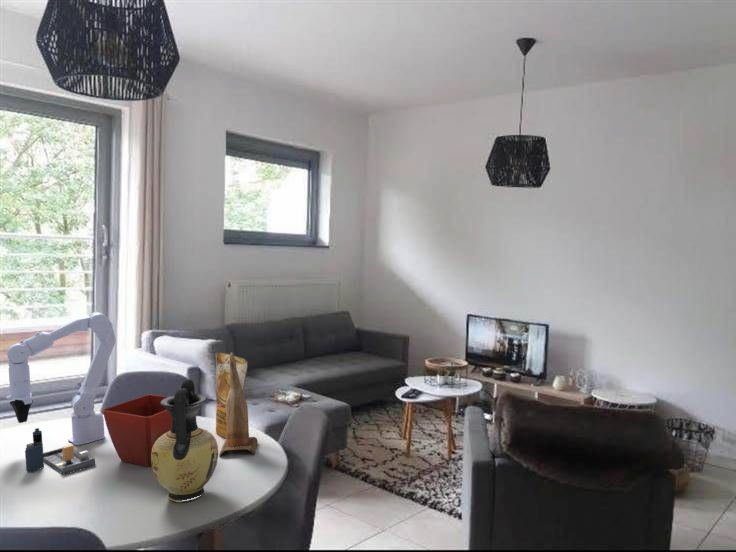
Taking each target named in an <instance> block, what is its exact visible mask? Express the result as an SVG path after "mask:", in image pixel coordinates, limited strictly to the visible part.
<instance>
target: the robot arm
mask: <svg viewBox="0 0 736 552" xmlns="http://www.w3.org/2000/svg"><path fill="white" fill-rule="evenodd" d="M89 328H90V330H91V331H92V332H93V333H94V334H95V335H96V337H97V339H98V340H99V342H98V345H97V348H96V350H95V352H94V355H93V357H92V360H91V362H90V365H89V367H88V370H87V372H86V375H85V377H84V380H83V382H82V385H81V386H80V387H79V389H78V391H77V393H76V394H75V395H73V396H72V399H71V402H70V403H71V407H72V409H73V411H72V413H71V417H70V418H71V430H72V431H71V433H72V438H71V437H70V438H68V439H67V440H68V442H70V443H71V444H74V445H76V446H82V445H85V444H89V443H93V442H96V441H98V440H103V439H105V438H106V437H107V436H106V435H105V418H104V414H103V413H102V412H101V411H95V400H96V397H97V396H96V395H97V389H98V387H99V385H100V382H101V379H102V377H103V374H104V372H105V369H106V367H107V364H108V361H109V360H110V357H111V355H112V352H113V349H114V347H115V345H116V342H117V338H116V335H115V330H114V327H113V323H112V322H111V320H110V319H109V317H107V316H106V315H105V314H104V313H103V312H100V311H94V312H91V313H90V314H86V315H83V316H80V317H78V318H76V319H74V320H72V321H70V322H68V323H66V324H64V325H63V326H61V327H58V328H57V329H55V330H52V331H50V332H46V331H41V332H40V331H37V332H35V333H34V335H33V336H31V337H29V338H26V339H21V340H19V343H14V344H12V345H11V346H10V347H9V348H8V349H7V353H6V355H7V359H8V378H9V379H8V382H9V392H10V393H9V394H10V395H6V396H5V399H6V400H11V401H9V404H10V406H11V407H12V408H13V411H14V413H15V417H16V419H17V422H18V423H19V424H22V423H27V421H28V417H29V414H30V413H29V411H30V409H31V406H32V404H33V397H32V396H33V394H32V389H31V373H30V365H29V357H34V356H35V355H37V354H40V353H41V352H43V351H44V352H45V351H46V350H48V349H50V348H52V347H53V346H54V343H55V342H56V341H58V340H61V339H63V338H65V337H66V336H70V335H72V334H74V333H76V332H79V331H80V332H89V331H90V330H89Z"/></svg>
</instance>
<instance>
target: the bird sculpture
mask: <svg viewBox="0 0 736 552" xmlns="http://www.w3.org/2000/svg"><path fill="white" fill-rule="evenodd" d="M229 354H230V391H229V394H228V397H227V401H226V424H227V439H224V442H223V444H222V446H221V449H220V451H219V453H218V458H219V457H221V456H222V455H223V453H225V452H226V451H232V450H233V451H237V450H248V451H249V452H250V453H251V454H253V455H255V454H256V450H257V446H258V443H259V442H258V438H257V437H255V436H250V433H249V431H250V430H249V411H248V410H249V408H248V403H247V399H246V396H245V393H244V392H243V390H242V387H241V383H240V379H239V375H238V372H237V368H236V362H235V357H234V356H235V354H234V352H230V353H229Z"/></svg>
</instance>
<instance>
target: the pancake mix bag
mask: <svg viewBox="0 0 736 552" xmlns="http://www.w3.org/2000/svg"><path fill="white" fill-rule="evenodd" d="M230 354H231V353H225V352H216V353H214V357H215V400H216V402H215V403H216V405H215V434H216V435H217V436H220V437H221V438H223V439H224V440H226V439H227V424H226V401H227V397H228V394H229V391H230ZM234 357H235V362H236V368H237V372H238V375H239V379H240V383H241V387H242V390H243V393H244V390H245V382H246V376H247V374H248V368H249V366H248V364H249V363H248V360H247V359H246V358H245V357H241V356H236V355H234Z"/></svg>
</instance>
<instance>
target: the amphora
mask: <svg viewBox="0 0 736 552" xmlns="http://www.w3.org/2000/svg"><path fill="white" fill-rule="evenodd" d="M195 391H196V389H195V383H194V381H193V379H189V378H187V379H184V380H183V381H182V383H181V386H180V388H177V389H176V391H175V392H174V395H171V396H166V397H167V398H165V399H163V400H162V401H161V403H160V404H161V405H162V406H163V407H166V408H167V411H168V413H169V414H170V415H171V417H172V427H171V430H170V431H169V432H167V433H165V434H163V435H162V436H160V437H159V438H158V439H157V440H156V442H155V444H154V445H153V448H152V452H151V464H152V466H151V469H152V472H153V474H154V477H155V478H156V480H157V481H158V483H159V484H160V486H161V487H163V488H164V489H165V490H167V491H168V493H167V499H168V500H169V499H170V500H172V501H182V500H187V499H191V498H194V497H197V496H200V495H202V494H203V493H204V494H205V488H204V487H205V485H206V484H208V482H210V480H211V478H212V476H213V475H214V472H215V470H216V467H217V465H218V460H219V459H218V458H219V446H218V442H217V440H216V438H215V436H214V435H213V434H212V432H210V431H208V430H207V429H204V428H201V427H199V426H198V422H197V414H198V412H199V411H200V409H201V407H202V404H204V403H205V402H206V401H207V397H206V396H205V395H203V394H199V393H195ZM204 494H203V495H204ZM203 495H202V496H203ZM170 500H169V501H170ZM172 501H171V502H172Z"/></svg>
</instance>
